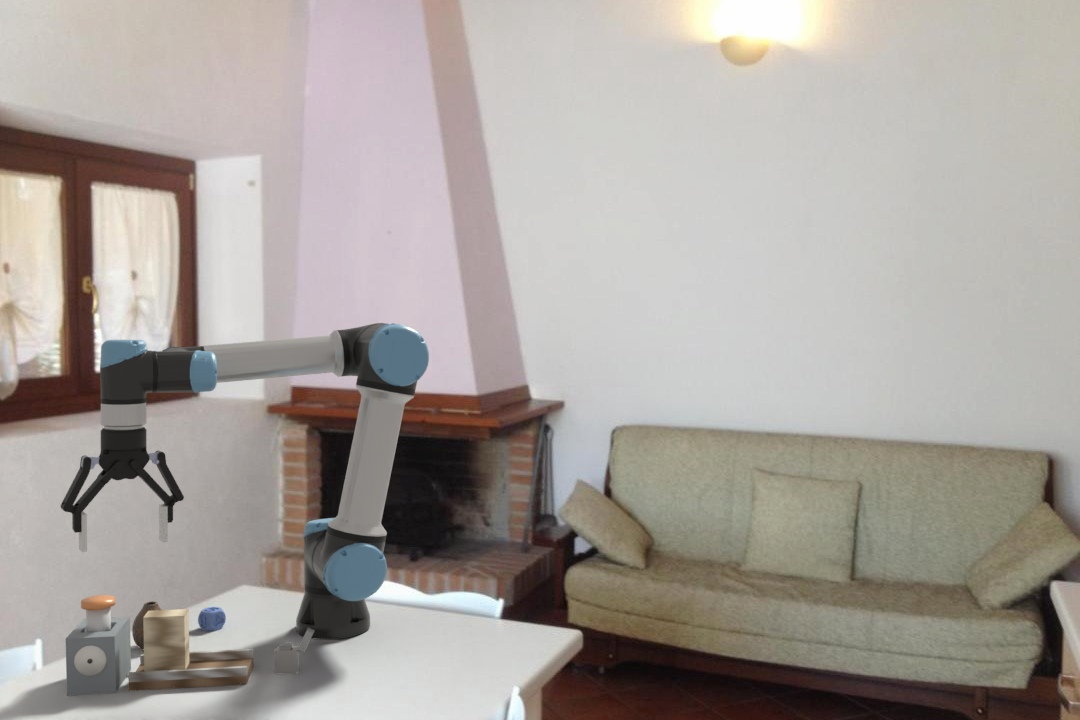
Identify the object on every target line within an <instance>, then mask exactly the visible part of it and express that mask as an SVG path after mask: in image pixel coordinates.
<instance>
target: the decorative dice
mask: <svg viewBox="0 0 1080 720" xmlns="http://www.w3.org/2000/svg"><path fill="white" fill-rule="evenodd" d="M197 618H198V619H197V623H198V625H199V628H200V629H201V630H202V631H203V632H215V631H219V630H221V629H222V628H223V627H224V625H225V623H226V620H227V619H226V612H225V611H224V610H223V608H222V607H219V606H209V607H205V608H202V610H200V612H199V614H198V617H197Z"/></svg>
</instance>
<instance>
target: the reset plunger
mask: <svg viewBox="0 0 1080 720" xmlns="http://www.w3.org/2000/svg"><path fill="white" fill-rule="evenodd" d="M115 605H116V596H113V595H111V594H110V595H109V594H103V595H102V594H99V595H93V596H88V597H85V598H83V599H81V600H80V608H81V609H82V610H85V617H86V618H85V619H86V627H87V632H103V631H111V618H112V616H111V614H112V612H111V611H112V610H111V609H112V607H114V606H115Z"/></svg>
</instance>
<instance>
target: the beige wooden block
mask: <svg viewBox="0 0 1080 720" xmlns="http://www.w3.org/2000/svg"><path fill="white" fill-rule="evenodd" d="M189 611H190V610H189V609H188V608H184V609H183V608H182V609H179V608H177V609H162V610H155V611H148V612H147V613H146V615H145V616H144V617H143V630H144V650H143V654H144V671H162V670H180V669H186V668H187V666H188V664H189V652H190V634H189V633H190V621H189V620H190V619H189V618H190V617H189V616H190V615H189V614H190V613H189Z"/></svg>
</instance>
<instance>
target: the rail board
mask: <svg viewBox="0 0 1080 720" xmlns="http://www.w3.org/2000/svg"><path fill="white" fill-rule="evenodd" d="M139 658H140V659H139V660H140V663H139V665H138V667H137V669H136V670H135V671H130V672H129V674H128V675H127V676H128V682H127V683H128V685H127V686H128V691H129V692H132V691H134V692H135V691H150V690H153V691H154V690H169V689H185V688H187V689H188V688H202V687H203V688H204V687H219V686H220V687H221V686H223V687H224V686H237V685H239V686H240V685H247V684H248V681H249V679H250V676H251V673H252V670H253V667H254V648H242V649H239V648H238V649H225V650H223V649H222V650H202V651H199V650H198V651H189V664H188V666H187V668H186V669H180V670H162V671H144V653H143V654H140V656H139Z"/></svg>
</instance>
